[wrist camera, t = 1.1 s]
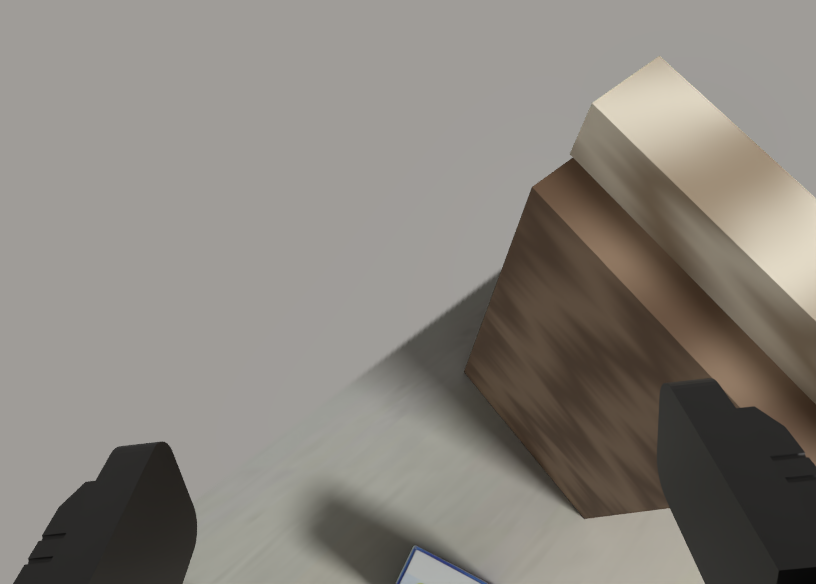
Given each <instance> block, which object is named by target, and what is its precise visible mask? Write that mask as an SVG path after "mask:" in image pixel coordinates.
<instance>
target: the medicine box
mask: <svg viewBox="0 0 816 584" xmlns="http://www.w3.org/2000/svg"><path fill="white" fill-rule="evenodd" d="M395 584H489V583H487V582H485V581H483V580H482V579H480V578H478V577H476V576H474V575H472V574H470V573H468V572H467V571H465V570H463V569H461V568H459V567H457V566H455V565H453V564H451V563H449V562H447V561H445V560H443V559H442V558H440V557H438V556H436V555H434V554H432V553H430V552H428V551H426V550H424V549H422V548H420V547H418V546H416V545H414V546H413V548H412V550H411V552H410V554H409V556H408V558H407V560H406V562H405V564H404V566H403V569H402V571H401V573H400V575H399V577H398V579H397V581H396V583H395Z"/></svg>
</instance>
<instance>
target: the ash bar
mask: <svg viewBox="0 0 816 584" xmlns="http://www.w3.org/2000/svg"><path fill="white" fill-rule="evenodd" d="M570 155H571V156H572V157H573V158H574V159H575V160H576V161H577V162H578V163H579V164H580V165H581V166H582V167H583V168H584V169H585V170H586V171H587V172H588V173H589V174H590V175H591V176H592V177H593V178H594V179H595V180H596V181H597V182H598V183H599V184H600V186H601V187H602V188H603V189H604V190H605V191H606V192H607V193H608V194H609V195H610V196H611V197H612V198H613V199H614V200H615V201H616V202H617V203H618V204H619V205H620V206H621V207H622V208H623V209H624V210H625V211H626V212H627V213H628V214H629V215H630V216H631V217H632V218H633V219H634V220H635V221H636V222H637V223H638V224H639V225H640V226H641V227H642V228H643V229H644V230H645V231H646V232H647V233H648V234H649V235H650V236H651V237H652V238H653V239H654V240H655V241H656V242H657V243H658V245H659V246H660V247H661V248H662V249H663V250H664V251H665V252H666V253H667V254H668V255H669V256H670V257H671V258H672V259H673V260H674V261H675V262H676V263H677V264H678V265H679V266H680V267H681V268H682V269H683V270H684V271H685V272H686V273H687V274H688V275H689V276H690V277H691V278H692V279H693V280H694V281H695V282H696V283H697V284H698V285H699V286H700V287H701V288H702V289H703V290H704V291H705V292H706V293H707V294H708V295H709V296H710V297H711V298H712V299H713V300H714V301H715V302H716V303H717V305H718V306H719V307H720V308H721V309H722V310H723V311H724V312H725V313H726V314H727V315H728V316H729V317H730V318H731V319H732V320H733V321H734V322H735V323H736V324H737V325H738V326H739V327H740V328H741V329H742V330H743V331H744V332H745V333H746V334H747V335H748V336H749V337H750V338H751V339H752V340H753V341H754V342H755V343H756V344H757V345H758V346H759V347H760V348H761V349H762V350H763V351H764V352H765V353H766V354H767V355H768V356H769V357H770V358H771V359H772V360H773V361H774V362H775V364H776V365H777V366H778V367H779V368H780V369H781V370H782V371H783V372H784V373H785V374H786V375H787V376H788V377H789V378H790V379H791V380H792V381H793V382H794V383H795V384H796V385H797V386H798V387H799V388H800V389H801V390H802V391H803V392H804V393H805V394H806V395H807V396H808V397H809V398H810V399H811V400H812V401H813V402H814V403H815V404H816V198H815V197H814V196H813V195H812V194H810V193H809V192H808V191H807V190H806V189H805V188H804V187H803V186H802V185H801V184H800V183H798V182H797V181H796V180H795V179H794V178H793V177H792V176H791V175H790V174H789V173H787V172H786V171H785V170H784V169H783V168H782V167H781V166H780V165H779V164H778V163H777V162H775V161H774V160H773V159H772V158H771V157H770V156H769V155H768V154H767V153H766V152H764V151H763V150H762V149H761V148H760V147H759V146H758V145H757V144H756V143H755V142H754V141H752V140H751V139H750V138H749V137H748V136H747V135H746V134H745V133H744V132H742V131H741V130H740V129H739V128H738V127H737V126H736V125H735V124H734V123H733V122H732V121H730V120H729V119H728V118H727V117H726V116H725V115H724V114H723V113H722V112H720V111H719V110H718V109H717V108H716V107H715V106H714V105H713V104H712V103H711V102H710V101H708V100H707V99H706V98H705V97H704V96H703V95H702V94H701V93H700V92H699V91H697V90H696V89H695V88H694V87H693V86H692V85H691V84H690V83H689V82H688V81H687V80H686V79H684V78H683V77H682V76H681V75H680V74H679V73H678V72H677V71H676V70H675V69H673V68H672V67H671V66H670V65H669V64H668V63H667V62H666V61H665V60H664V59H663V58H661V57H660V56H659V57H657V58H656V59H654V60H653V61H651V62H650V63H649V64H647V65H646V66H644V67H643V68H641V69H640V70H638V71H637V72H636V73H634V74H633V75H631V76H630V77H629V78H627V79H626V80H624V81H623V82H621V83H620V84H619V85H617V86H616V87H614V88H613V89H611V90H610V91H609V92H607V93H606V94H604V95H603V96H601V97H600V98H599V99H597V100H596V101H594V102H593V103H592V104H591V107H590V109H589V111H588V113H587V116H586V118H585V121H584V123H583V125H582V127H581V130H580V132H579V134H578V136H577V139H576V141H575V143H574V146H573V148H572V150H571V153H570Z"/></svg>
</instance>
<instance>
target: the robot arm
mask: <svg viewBox="0 0 816 584" xmlns="http://www.w3.org/2000/svg"><path fill="white" fill-rule="evenodd" d="M657 468H658V475H659V480H660V484H661V487H662V490H663V493H664V496H665V498H666V501H667V503H668V505H669V507H670V509H671V511H672V513H673V516H674V518H675V520H676V522H677V524H678V526H679V528H680V531H681V533H682V535H683V537H684V539H685V541H686V544H687V546H688V548H689V550H690V552H691V554H692V556H693V559H694V561H695V563H696V565H697V567H698V569H699V572H700V574H701V576H702V578H703V580H704V582H705V584H816V466H815V464H814V463H813V462H812V461H811V459H810V458H809V457H807V458H806V456H805V452H804V450H803V449H802V448H801V446H800V445H799V444H798V442H797V441H796V440H795V439H794V437H793V436H792V435H791V433H790V432H789V431H788V430H787V428H786V427H785V426H784V425H782V424H781V423H779V422H778V421H776V420H774V419H773V418H771V417H770V416H768V415H767V414H765V413H764V412H762V411H761V410H759V409H758V408H756V407H755V406H752V407H743V408H736V407H735V406H734V404H733V403H732V402H731V400H730V399H729V397H728V396H727V395H726V393H725V392H724V390H723V389H722V387H721V386H720V385H719V383H718V382H717V381H716V380H715V379H713V378H704V379H696V380H687V381H678V382H669V383H664V384H662V386H661V389H660V396H659V417H658V438H657ZM42 537H43V539H42V541H39V542H38V543H37V545H36V546H35V548H34V550H33V551H32V553H31V555H30V557H29V558H28V559H29V562H28V564H27V565H24V567H23V568H22V570H21V572H20V573H19V575H18V577H17V578H16V580H15V582H14V583H13V584H183V581H184V578H185V575H186V572H187V569H188V566H189V563H190V560H191V557H192V554H193V551H194V548H195V544H196V537H197V519H196V513H195V509H194V506H193V503H192V501H191V498H190V496H189V493H188V491H187V488H186V486H185V483H184V480H183V478H182V475H181V472H180V470H179V468H178V465H177V463H176V460H175V457H174V454H173V452H172V450H171V448H170V446H169V445H168V444H167V443H165V442H155V443H146V444H137V445H128V446H120V447H117V448H115V449H114V450H113V451H112V453H111V454H110V456H109V458H108V460H107V462H106V463H105V465H104V467H103V469H102V470H101V472H100V474H99V476H98V478H97V479H96V481H90V482H85V483H84V484H83V485H82V486H81V487H80V488H79V489H78V490H77V491H76V492H75V493H73V495H71V496H70V497H69V498H68V499H67V500H66V501H65V502H64V503H63V504H62V505H61V506H60V507H59V508H58V510H57V511H56V513H55V515H54V517H53V518H52V520H51V521H50V523H49V525H48V526H47V528H46V530H45V532H44V533H43V535H42Z"/></svg>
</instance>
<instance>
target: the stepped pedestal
mask: <svg viewBox="0 0 816 584" xmlns="http://www.w3.org/2000/svg"><path fill="white" fill-rule="evenodd" d="M464 372H465V374H466V375H467V376H468V377H469V379H470V380H471V381H472V382H473V383H474V385H475V386H476V387H477V388H478V390H479V391H480V392H481V393H482V394H483V396H484V397H485V398H486V399H487V401H488V402H489V403H490V404H491V405H492V407H493V408H494V409H495V410H496V412H497V413H498V414H499V415H500V416H501V418H502V419H503V420H504V421H505V422H506V424H507V425H508V426H509V427H510V429H511V430H512V431H513V432H514V433H515V435H516V436H517V437H518V438H519V440H520V441H521V442H522V443H523V444H524V446H525V447H526V448H527V449H528V451H529V452H530V453H531V454H532V455H533V457H534V458H535V459H536V460H537V461H538V463H539V464H540V465H541V466H542V468H543V469H544V470H545V471H546V472H547V474H548V475H549V476H550V477H551V479H552V480H553V481H554V482H555V483H556V485H557V486H558V487H559V488H560V490H561V491H562V492H563V493H564V494H565V496H566V497H567V498H568V499H569V501H570V502H571V503H572V504H573V505H574V507H575V508H576V509H577V510H578V511H579V513H580V514H581V515H582V516H583V518H584V519H587V518H595V517H603V516H611V515H619V514H626V513H634V512H642V511H650V510H658V509H666V508H670V507H669V505H668V503H667V501H666V498H665V496H664V493H663V490H662V487H661V484H660V480H659V475H658V468H657V438H658V417H659V396H660V389H661V386H662V384H664V383H669V382H678V381H687V380H696V379H704V378H713V379H715V380H716V381H717V382H718V383H719V385H720V386H721V387H722V389H723V390H724V392H725V393H726V395H727V396H728V397H729V399H730V400H731V402H732V403H733V404H734V406H735V407H736V408H743V407H752V406H755V407H756V408H758V409H759V410H761V411H762V412H764V413H765V414H767V415H768V416H770V417H771V418H773V419H774V420H776V421H778V422H779V423H781V424H782V425H784V426H785V427H786V428H787V430H788V431H789V432H790V433H791V435H792V436H793V437H794V439H795V440H796V441H797V442H798V444H799V445H800V446H801V448H802V449H803V450H804V452H805V456H806V458H807V457H809V458H810V459H811V461H812V462H813V463H814V464H815V466H816V404H815V403H814V402H813V401H812V400H811V399H810V398H809V397H808V396H807V395H806V394H805V393H804V392H803V391H802V390H801V389H800V388H799V387H798V386H797V385H796V384H795V383H794V382H793V381H792V380H791V379H790V378H789V377H788V376H787V375H786V374H785V373H784V372H783V371H782V370H781V369H780V368H779V367H778V366H777V365H776V364H775V362H774V361H773V360H772V359H771V358H770V357H769V356H768V355H767V354H766V353H765V352H764V351H763V350H762V349H761V348H760V347H759V346H758V345H757V344H756V343H755V342H754V341H753V340H752V339H751V338H750V337H749V336H748V335H747V334H746V333H745V332H744V331H743V330H742V329H741V328H740V327H739V326H738V325H737V324H736V323H735V322H734V321H733V320H732V319H731V318H730V317H729V316H728V315H727V314H726V313H725V312H724V311H723V310H722V309H721V308H720V307H719V306H718V305H717V303H716V302H715V301H714V300H713V299H712V298H711V297H710V296H709V295H708V294H707V293H706V292H705V291H704V290H703V289H702V288H701V287H700V286H699V285H698V284H697V283H696V282H695V281H694V280H693V279H692V278H691V277H690V276H689V275H688V274H687V273H686V272H685V271H684V270H683V269H682V268H681V267H680V266H679V265H678V264H677V263H676V262H675V261H674V260H673V259H672V258H671V257H670V256H669V255H668V254H667V253H666V252H665V251H664V250H663V249H662V248H661V247H660V246H659V245H658V243H657V242H656V241H655V240H654V239H653V238H652V237H651V236H650V235H649V234H648V233H647V232H646V231H645V230H644V229H643V228H642V227H641V226H640V225H639V224H638V223H637V222H636V221H635V220H634V219H633V218H632V217H631V216H630V215H629V214H628V213H627V212H626V211H625V210H624V209H623V208H622V207H621V206H620V205H619V204H618V203H617V202H616V201H615V200H614V199H613V198H612V197H611V196H610V195H609V194H608V193H607V192H606V191H605V190H604V189H603V188H602V187H601V186H600V184H599V183H598V182H597V181H596V180H595V179H594V178H593V177H592V176H591V175H590V174H589V173H588V172H587V171H586V170H585V169H584V168H583V167H582V166H581V165H580V164H579V163H578V162H577V161H576V160H575V159H574V158H572V159H570V160H569V161H568V162H566V163H565V164H563V165H562V166H561V167H559V168H558V169H556V170H555V171H554V172H552V173H551V174H550V175H548V176H547V177H545V178H544V179H543V180H541V181H540V182H539V183H537V184H536V185H534V186H533V187H532V189H531V192H530V194H529V197H528V200H527V202H526V205H525V208H524V210H523V213H522V216H521V218H520V221H519V224H518V227H517V229H516V232H515V235H514V237H513V240H512V243H511V246H510V248H509V251H508V254H507V256H506V259H505V262H504V265H503V267H502V270H501V273H500V276H499V278H498V281H497V284H496V286H495V289H494V292H493V295H492V297H491V300H490V303H489V305H488V308H487V311H486V314H485V316H484V319H483V322H482V324H481V327H480V330H479V333H478V335H477V338H476V341H475V343H474V346H473V349H472V352H471V354H470V357H469V360H468V362H467V365H466V368H465V371H464Z"/></svg>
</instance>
